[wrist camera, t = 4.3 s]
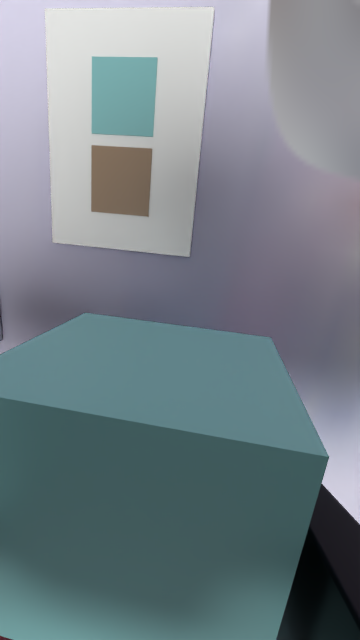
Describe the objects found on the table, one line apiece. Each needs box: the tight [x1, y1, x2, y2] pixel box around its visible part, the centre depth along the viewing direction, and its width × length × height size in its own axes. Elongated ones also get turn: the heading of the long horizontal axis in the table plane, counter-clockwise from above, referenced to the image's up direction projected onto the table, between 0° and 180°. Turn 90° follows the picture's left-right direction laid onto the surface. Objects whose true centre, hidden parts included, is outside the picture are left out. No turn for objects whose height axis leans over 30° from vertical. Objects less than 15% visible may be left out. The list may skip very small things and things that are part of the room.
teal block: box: [0, 313, 329, 640], centre depth 7 cm, size 6×6×5 cm
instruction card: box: [45, 7, 215, 257], centre depth 11 cm, size 8×6×1 cm
